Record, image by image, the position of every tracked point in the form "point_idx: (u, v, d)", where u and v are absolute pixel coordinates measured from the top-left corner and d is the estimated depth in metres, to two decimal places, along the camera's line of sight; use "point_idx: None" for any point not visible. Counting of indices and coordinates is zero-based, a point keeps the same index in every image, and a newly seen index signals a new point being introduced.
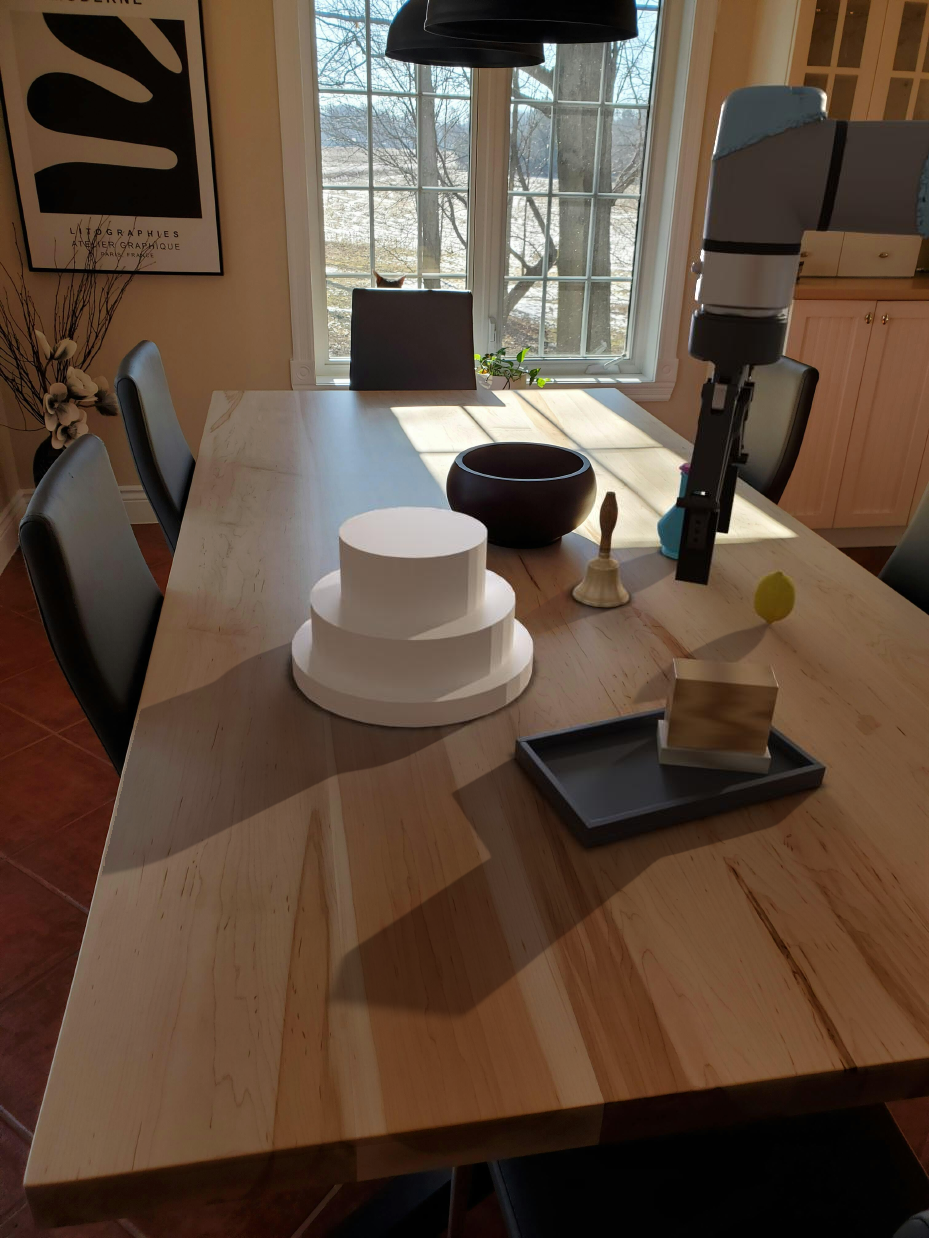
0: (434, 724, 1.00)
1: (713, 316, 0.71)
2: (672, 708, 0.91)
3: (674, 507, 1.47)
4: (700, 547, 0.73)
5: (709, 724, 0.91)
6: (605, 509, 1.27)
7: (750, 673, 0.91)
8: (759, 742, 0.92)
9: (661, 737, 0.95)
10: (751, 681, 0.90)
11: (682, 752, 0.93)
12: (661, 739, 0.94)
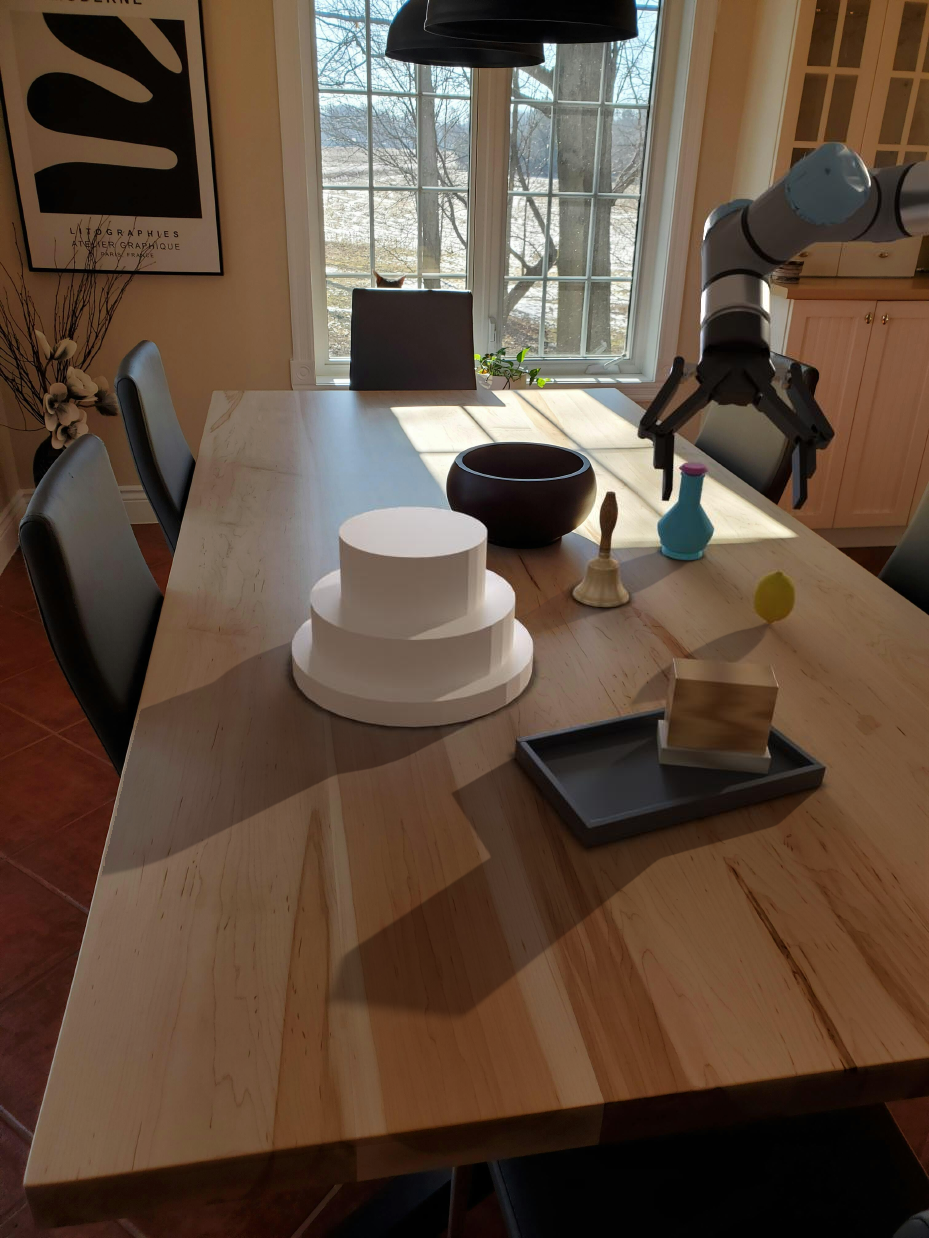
0: (434, 724, 1.00)
1: None
2: (672, 708, 0.91)
3: (674, 507, 1.47)
4: (655, 461, 0.95)
5: (709, 724, 0.91)
6: (605, 509, 1.27)
7: (750, 673, 0.91)
8: (759, 742, 0.92)
9: (661, 737, 0.95)
10: (751, 681, 0.90)
11: (682, 752, 0.93)
12: (661, 739, 0.94)
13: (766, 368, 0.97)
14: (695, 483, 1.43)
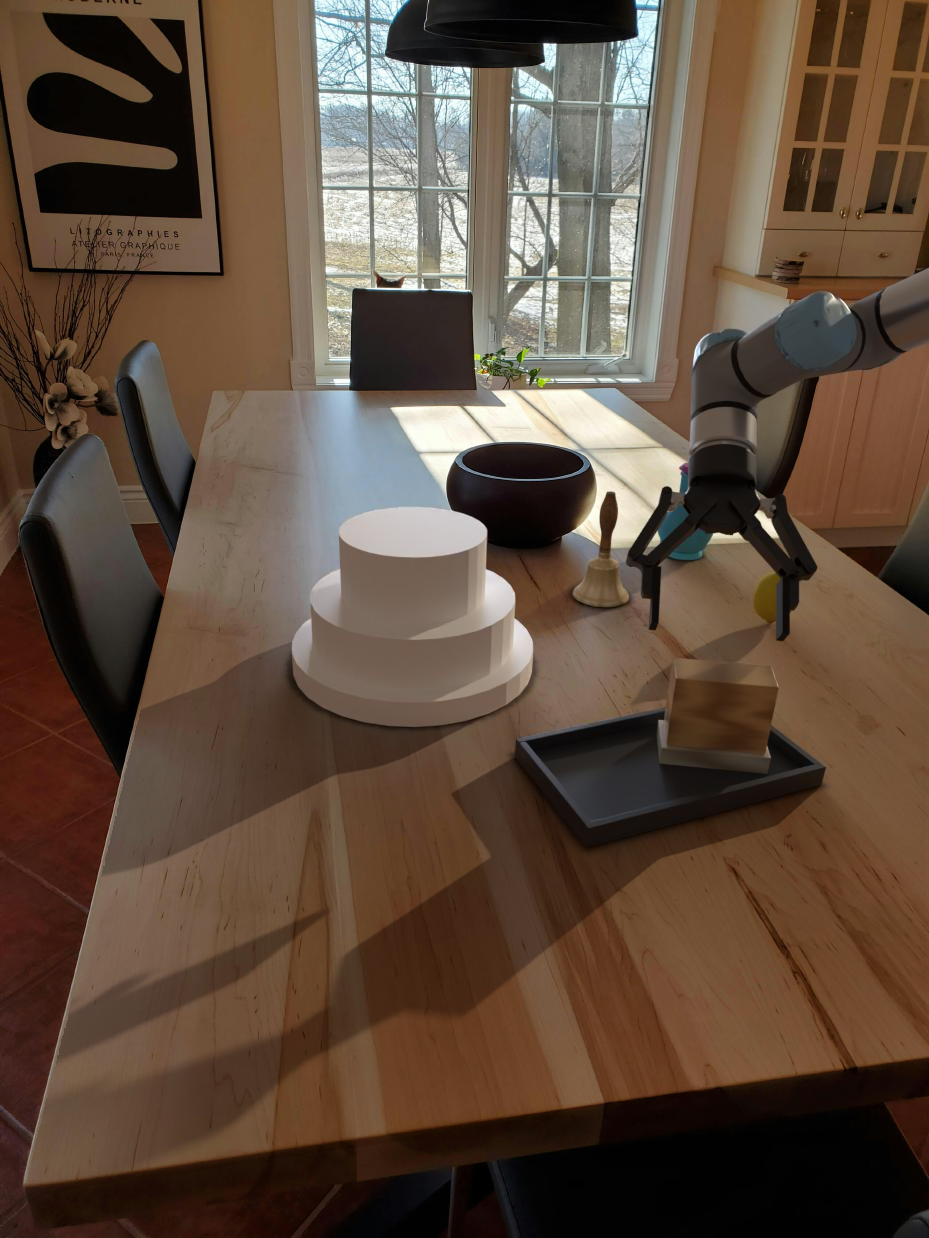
0: (434, 724, 1.00)
1: None
2: (672, 708, 0.91)
3: None
4: (642, 592, 0.98)
5: (709, 724, 0.91)
6: (605, 509, 1.27)
7: (750, 673, 0.91)
8: (759, 742, 0.92)
9: (661, 737, 0.95)
10: (751, 681, 0.90)
11: (682, 752, 0.93)
12: (661, 739, 0.94)
13: (752, 499, 1.00)
14: None
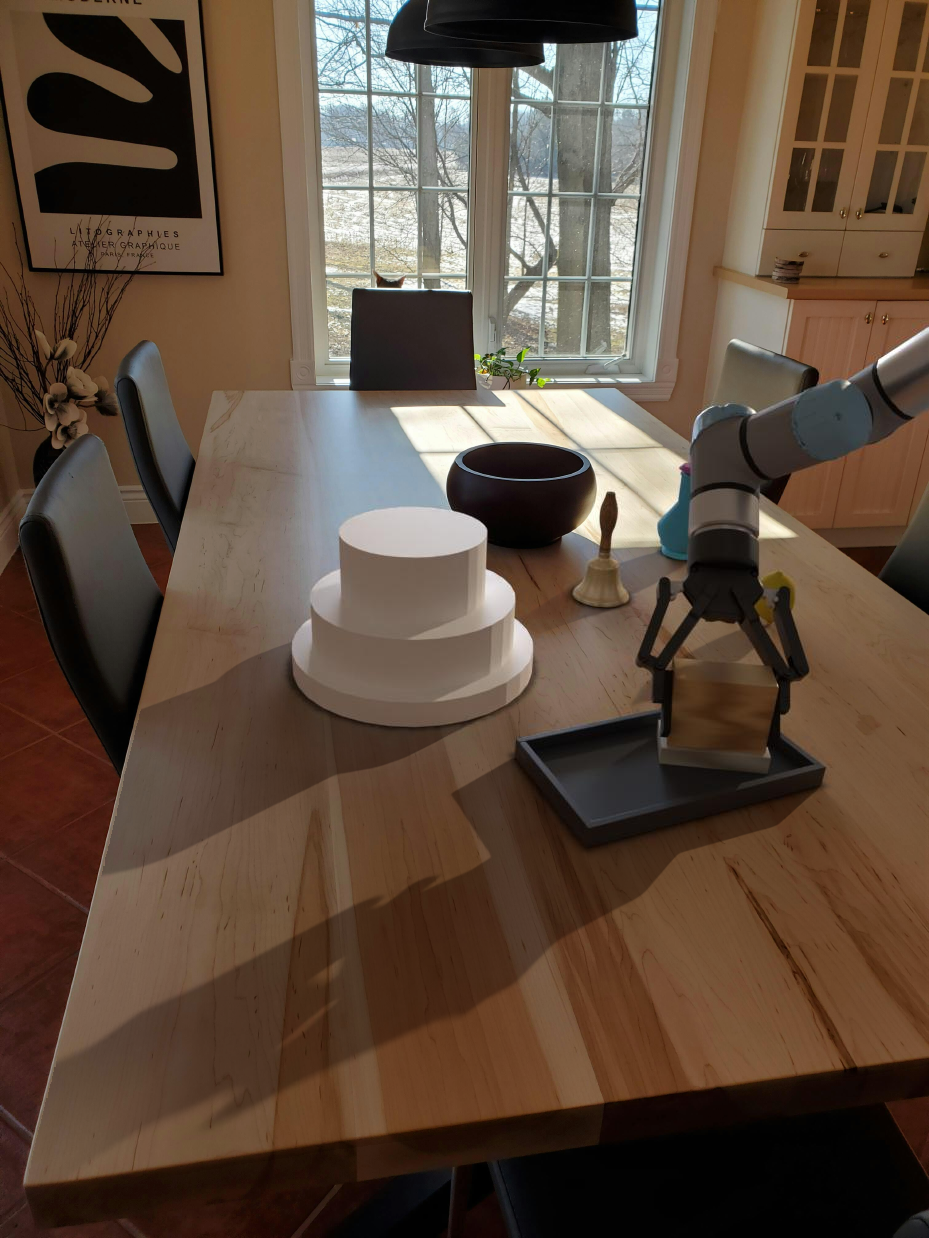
0: (434, 724, 1.00)
1: None
2: (672, 708, 0.91)
3: (674, 507, 1.47)
4: (653, 697, 0.93)
5: (709, 724, 0.91)
6: (605, 509, 1.27)
7: (750, 673, 0.91)
8: (758, 742, 0.92)
9: (661, 737, 0.95)
10: (751, 681, 0.90)
11: (682, 751, 0.93)
12: (661, 739, 0.94)
13: (754, 587, 0.95)
14: None
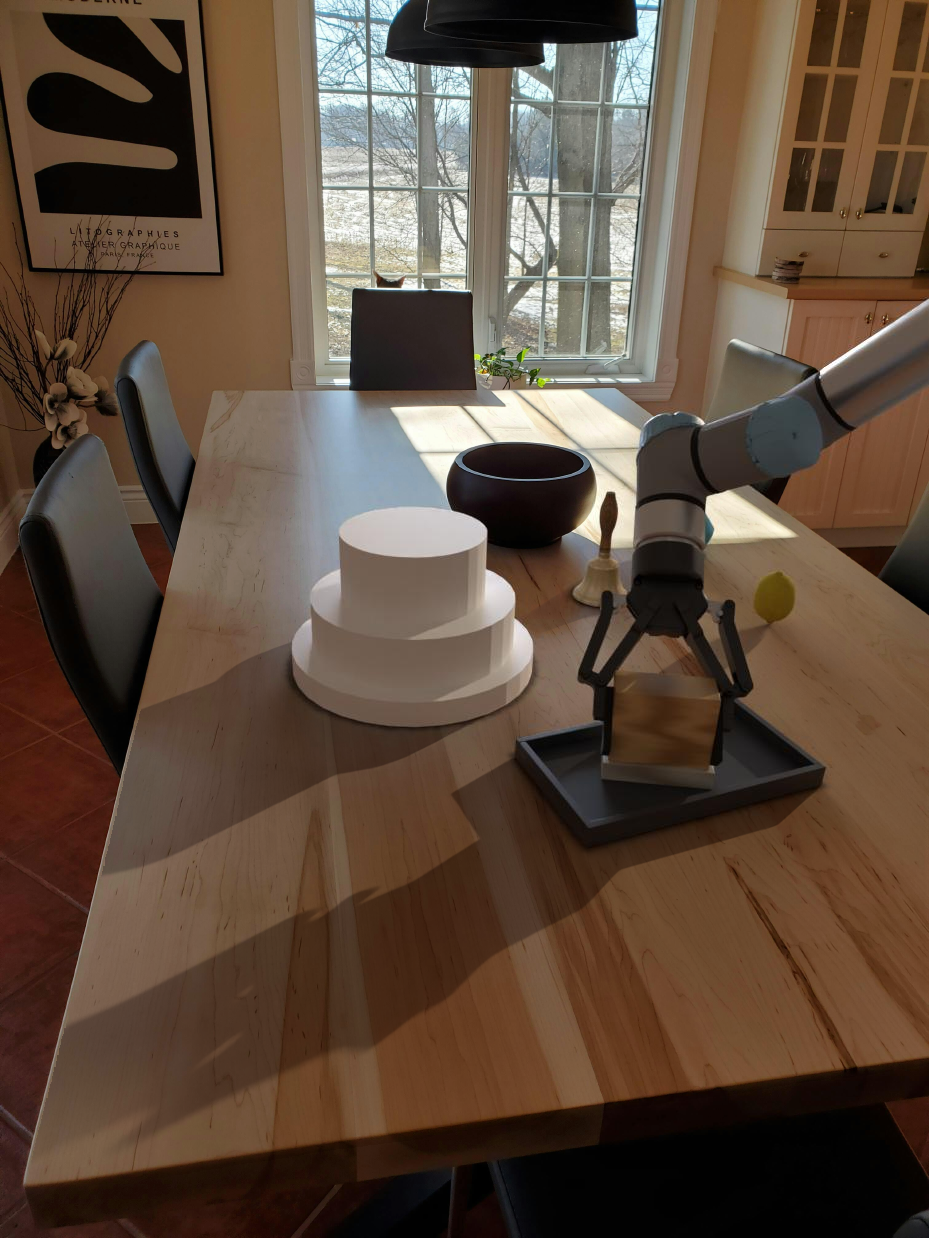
0: (434, 724, 1.00)
1: None
2: (613, 722, 0.89)
3: None
4: (593, 715, 0.90)
5: (651, 739, 0.89)
6: (605, 509, 1.27)
7: (692, 686, 0.88)
8: (702, 757, 0.89)
9: None
10: (693, 694, 0.87)
11: (624, 767, 0.90)
12: None
13: (699, 600, 0.93)
14: None
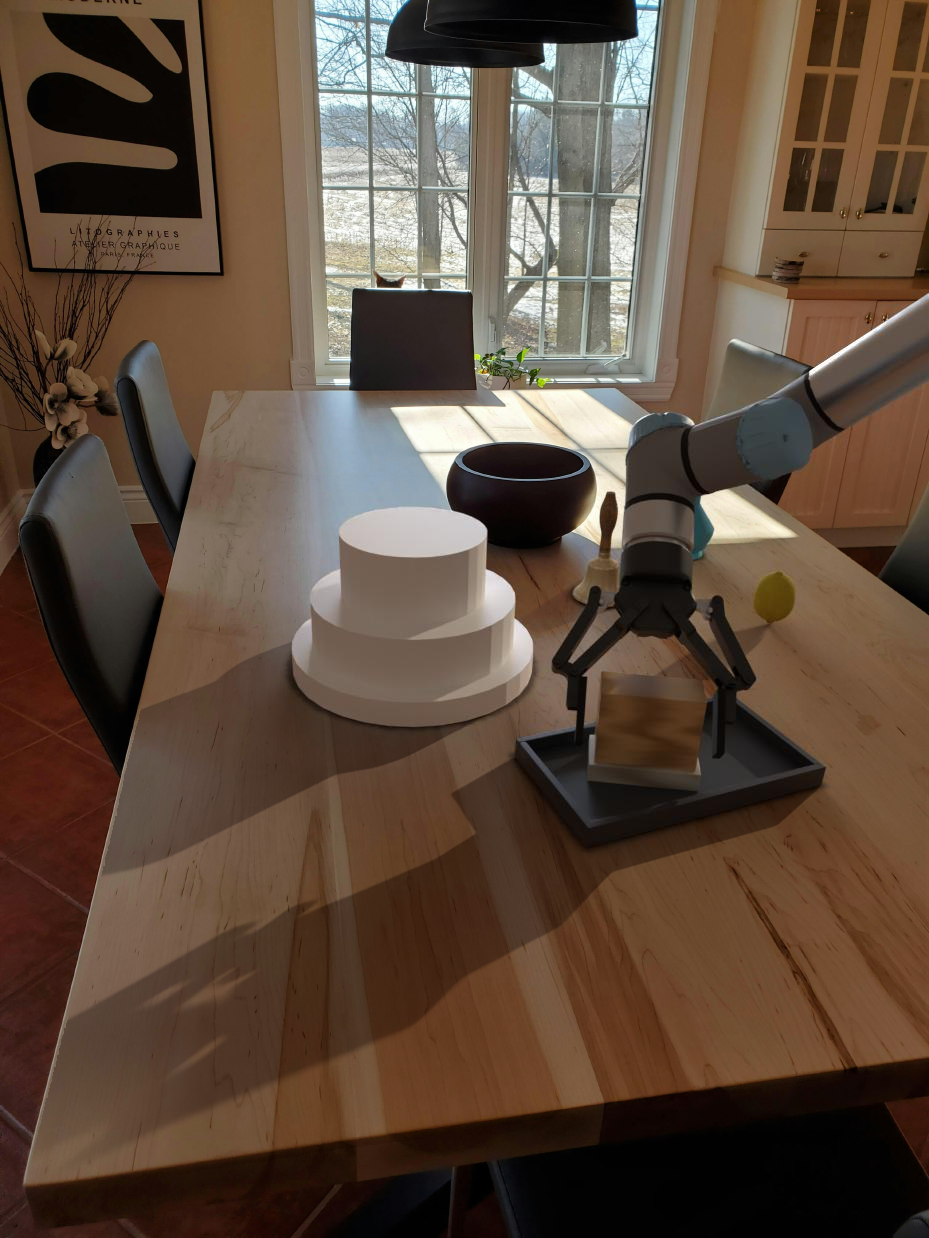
0: (434, 724, 1.00)
1: None
2: (599, 724, 0.88)
3: None
4: (566, 704, 0.90)
5: (637, 740, 0.88)
6: (605, 509, 1.27)
7: (679, 688, 0.88)
8: (688, 758, 0.89)
9: (590, 753, 0.92)
10: (679, 695, 0.87)
11: (610, 768, 0.90)
12: (590, 755, 0.91)
13: (687, 601, 0.92)
14: None
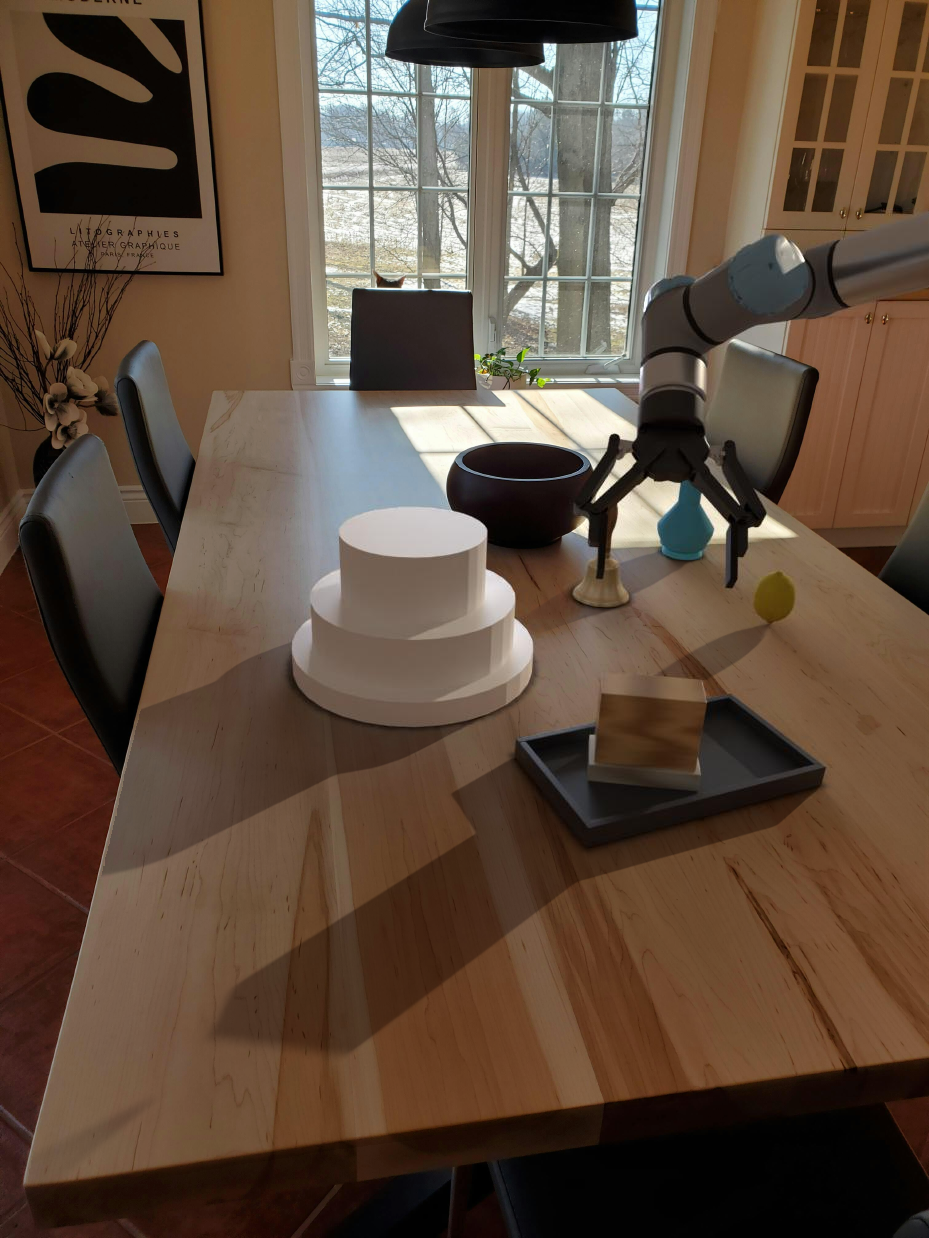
0: (434, 724, 1.00)
1: None
2: (599, 724, 0.88)
3: (674, 507, 1.47)
4: (588, 540, 0.96)
5: (637, 740, 0.88)
6: None
7: (679, 688, 0.88)
8: (688, 758, 0.89)
9: (590, 753, 0.92)
10: (679, 695, 0.87)
11: (610, 768, 0.90)
12: (590, 755, 0.91)
13: (700, 446, 0.98)
14: None
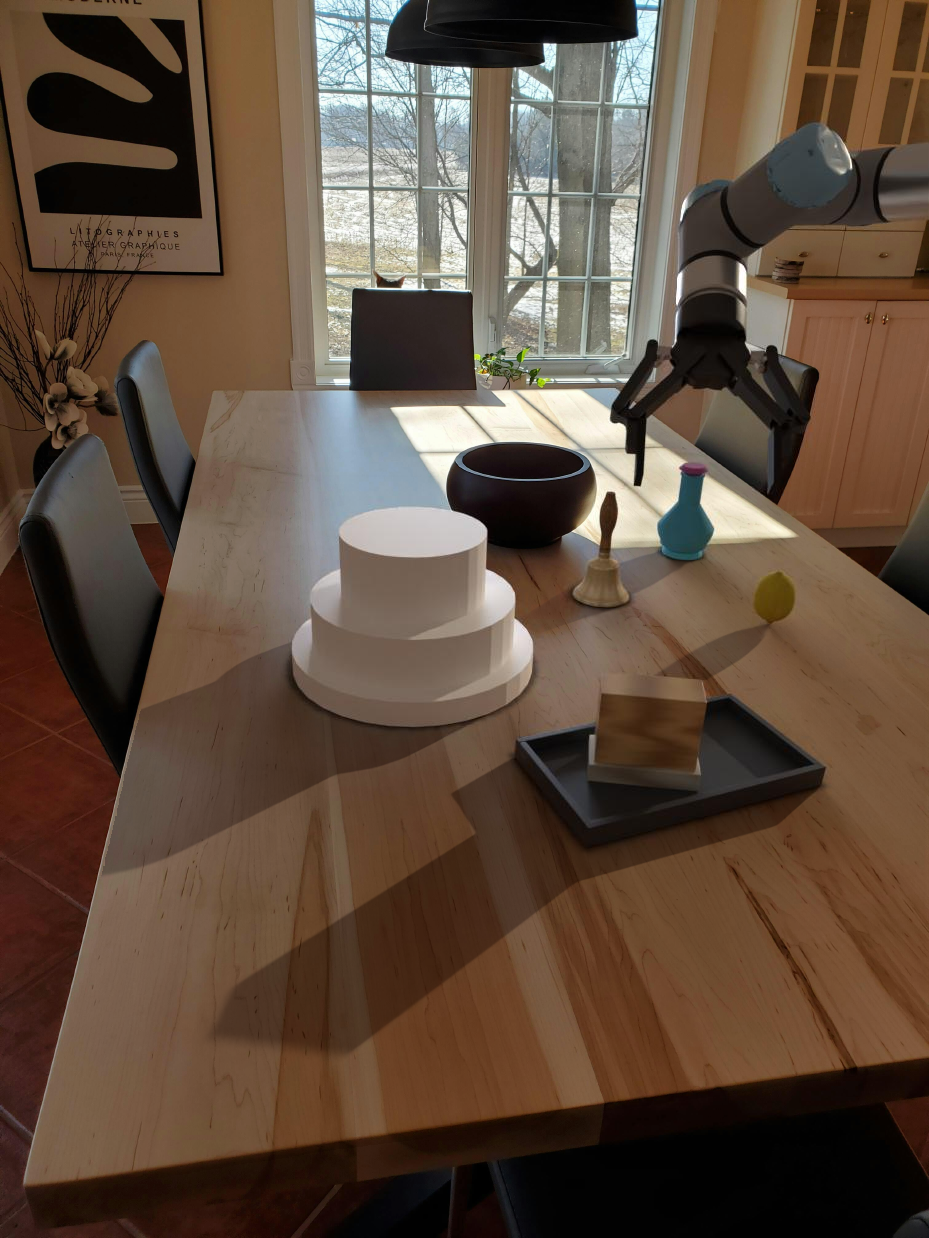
0: (434, 724, 1.00)
1: None
2: (599, 724, 0.88)
3: (674, 507, 1.47)
4: (626, 446, 0.93)
5: (637, 740, 0.88)
6: (605, 509, 1.27)
7: (679, 688, 0.88)
8: (688, 758, 0.89)
9: (590, 753, 0.92)
10: (679, 695, 0.87)
11: (610, 768, 0.90)
12: (590, 755, 0.91)
13: (741, 351, 0.95)
14: (695, 483, 1.43)
